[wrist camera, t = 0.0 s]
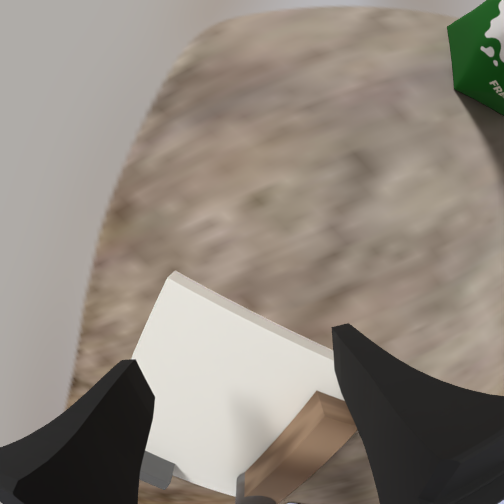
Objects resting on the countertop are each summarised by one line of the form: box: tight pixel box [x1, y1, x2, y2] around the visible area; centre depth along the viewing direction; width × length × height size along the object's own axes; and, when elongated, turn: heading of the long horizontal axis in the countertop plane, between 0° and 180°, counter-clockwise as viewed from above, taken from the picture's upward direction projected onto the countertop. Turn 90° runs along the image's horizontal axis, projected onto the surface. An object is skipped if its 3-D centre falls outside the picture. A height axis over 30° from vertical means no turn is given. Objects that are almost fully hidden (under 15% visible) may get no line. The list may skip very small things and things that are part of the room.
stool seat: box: [131, 271, 345, 497], centre depth 20 cm, size 18×16×4 cm
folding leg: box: [235, 390, 358, 504], centre depth 19 cm, size 13×3×3 cm, turn 151°
